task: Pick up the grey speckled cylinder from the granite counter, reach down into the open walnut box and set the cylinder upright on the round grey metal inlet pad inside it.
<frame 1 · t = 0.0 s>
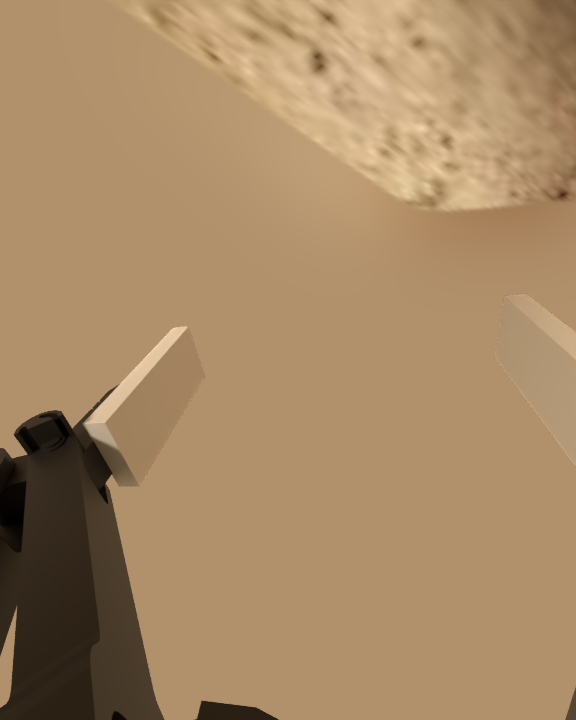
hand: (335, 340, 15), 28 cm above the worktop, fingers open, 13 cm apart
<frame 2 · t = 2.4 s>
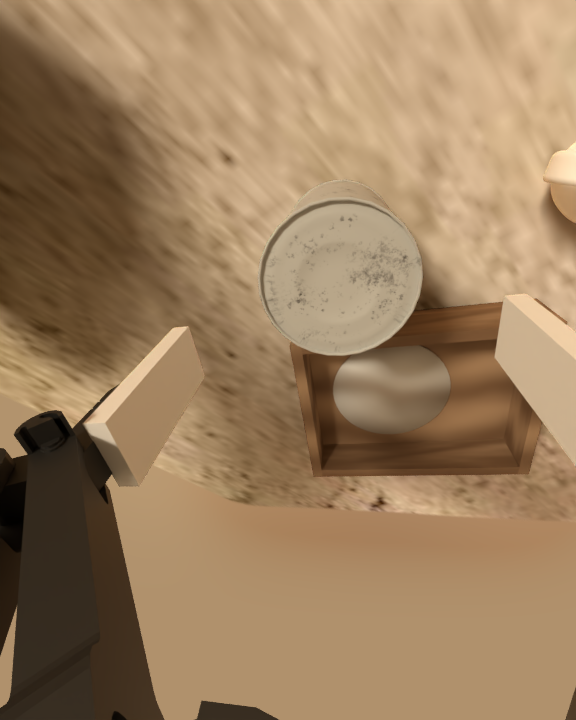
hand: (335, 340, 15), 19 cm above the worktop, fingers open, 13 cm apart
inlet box: (407, 384, 38), on the worktop
grey speckled cylinder: (338, 239, 31), on the worktop
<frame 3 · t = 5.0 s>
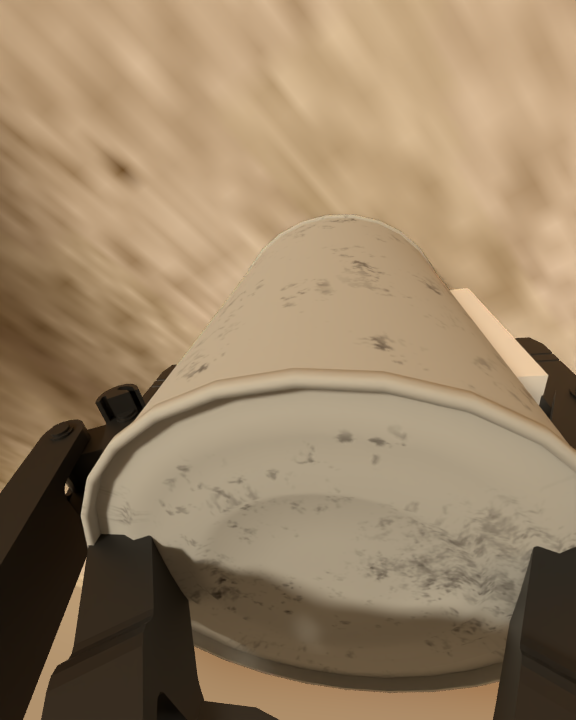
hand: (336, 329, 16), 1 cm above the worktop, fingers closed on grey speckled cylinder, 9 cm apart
grey speckled cylinder: (336, 317, 17), on the worktop, touching gripper
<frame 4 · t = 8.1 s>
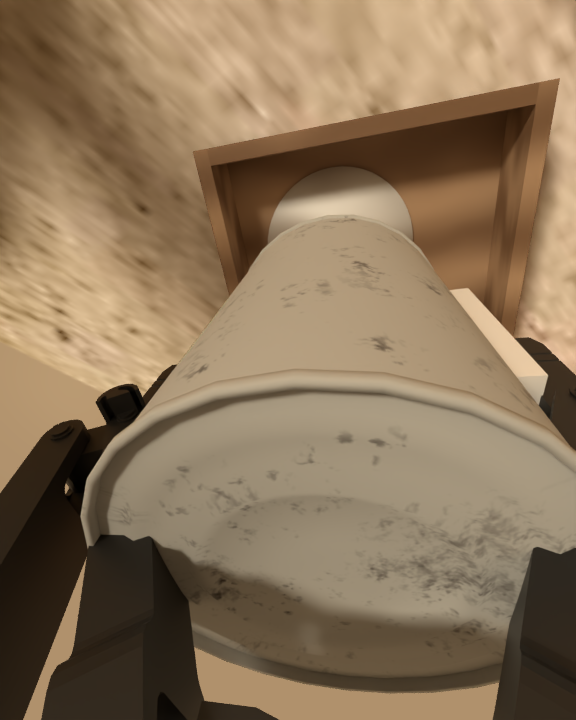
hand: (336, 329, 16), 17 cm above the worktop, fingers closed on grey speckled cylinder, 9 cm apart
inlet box: (361, 241, 30), on the worktop
grey speckled cylinder: (336, 317, 17), point 15 cm above the worktop, touching gripper
when the fingers open (4 cm above the worktop, at t = 11.3 s): grey speckled cylinder drops 1 cm, resting on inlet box.
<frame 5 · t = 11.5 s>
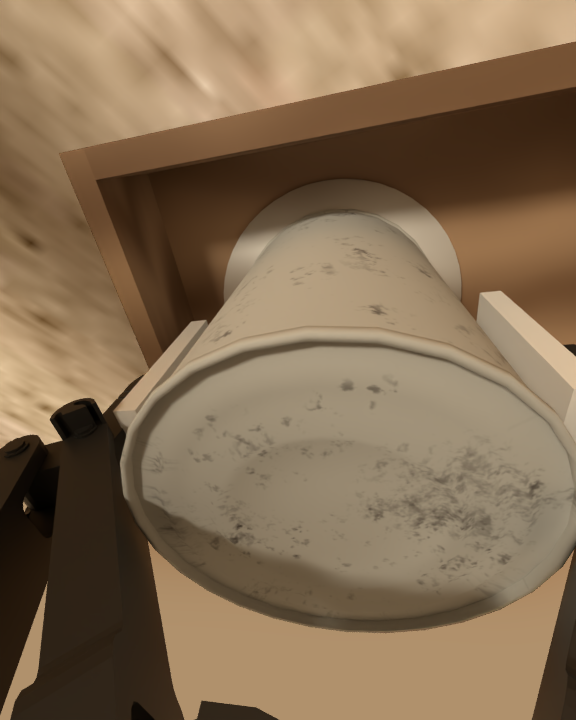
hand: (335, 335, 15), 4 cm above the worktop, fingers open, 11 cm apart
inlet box: (374, 296, 19), on the worktop
grey speckled cylinder: (337, 306, 18), point 1 cm above the worktop, touching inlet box
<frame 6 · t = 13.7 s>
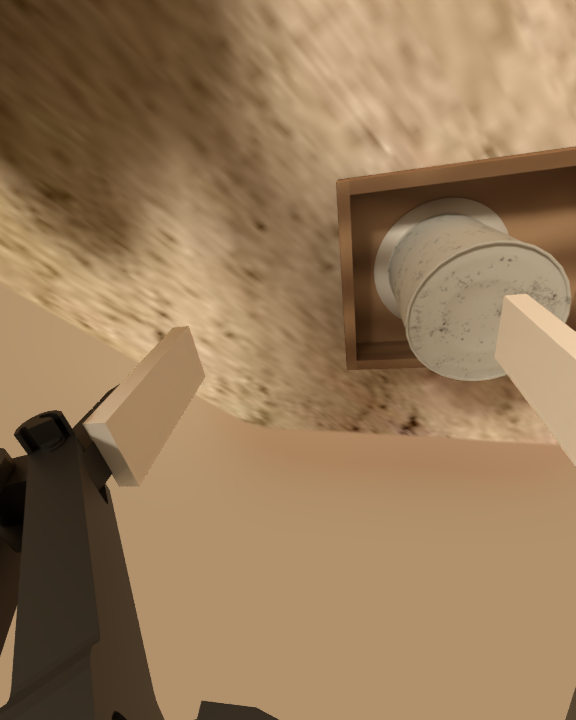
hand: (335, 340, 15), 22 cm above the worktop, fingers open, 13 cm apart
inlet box: (459, 262, 33), on the worktop
grey speckled cylinder: (439, 266, 33), point 1 cm above the worktop, touching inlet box
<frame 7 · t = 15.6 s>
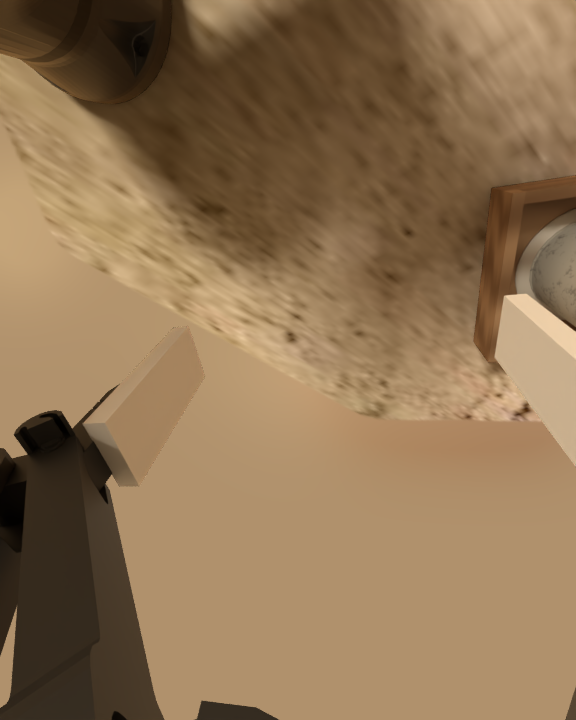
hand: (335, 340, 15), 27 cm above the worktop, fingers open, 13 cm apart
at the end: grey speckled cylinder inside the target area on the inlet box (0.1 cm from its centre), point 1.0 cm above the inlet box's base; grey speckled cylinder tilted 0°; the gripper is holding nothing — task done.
